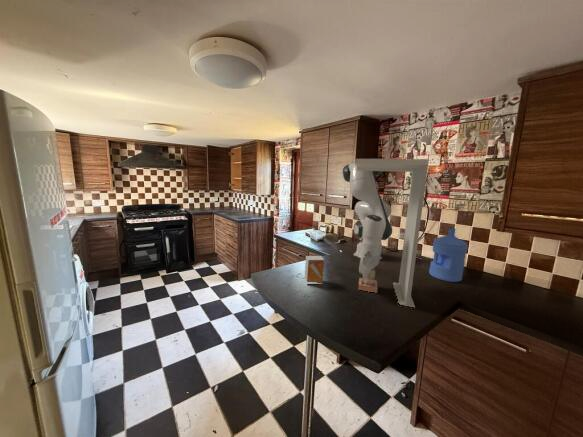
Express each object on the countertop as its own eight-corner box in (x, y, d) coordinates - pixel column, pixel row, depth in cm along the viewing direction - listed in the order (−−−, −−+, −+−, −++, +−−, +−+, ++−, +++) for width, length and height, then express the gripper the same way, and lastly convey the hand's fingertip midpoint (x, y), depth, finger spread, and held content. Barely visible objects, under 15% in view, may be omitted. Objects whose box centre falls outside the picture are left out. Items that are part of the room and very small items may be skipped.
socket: (358, 283, 116) (359, 277, 115) (376, 286, 113) (376, 280, 113) (358, 290, 108) (358, 284, 107) (376, 293, 105) (377, 287, 105)
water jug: (451, 272, 136) (458, 226, 132) (468, 283, 121) (477, 232, 117) (423, 270, 138) (430, 225, 134) (437, 281, 122) (445, 230, 118)
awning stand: (348, 277, 123) (357, 163, 114) (406, 286, 114) (421, 164, 105) (344, 295, 102) (355, 158, 93) (414, 308, 93) (434, 159, 84)
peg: (361, 284, 112) (363, 267, 111) (369, 284, 112) (371, 267, 111) (365, 288, 108) (367, 270, 107) (373, 288, 108) (375, 270, 107)
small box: (306, 285, 111) (308, 259, 109) (304, 279, 117) (305, 255, 115) (322, 285, 112) (324, 259, 110) (319, 279, 118) (321, 255, 116)
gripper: (371, 256, 97) (368, 286, 99) (383, 246, 114) (380, 272, 116) (356, 253, 101) (354, 282, 103) (370, 244, 117) (368, 269, 119)
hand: (368, 277), depth 110 cm, fingers closed on peg, 5 cm apart
